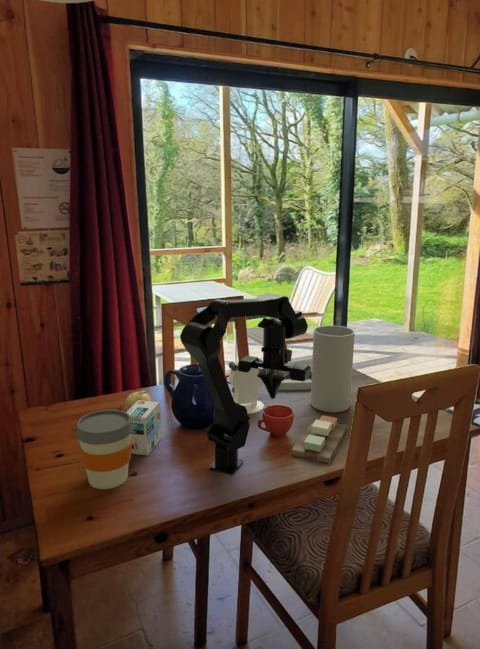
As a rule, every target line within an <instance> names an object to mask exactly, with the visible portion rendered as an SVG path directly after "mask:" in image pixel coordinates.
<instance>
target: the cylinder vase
mask: <svg viewBox="0 0 480 649" xmlns="http://www.w3.org/2000/svg"><path fill="white" fill-rule="evenodd" d="M355 332H356V331H355V330H354V329H352V328H350V327H348V326H347V327H346V326H341V325H321V326H317V327H314V329H313V336H312V337H313V339H312V362H311V363H312V366H311V370H312V383H311V390H310V404H311V406H312V407H313V408H314V409H315V410H317V411H320V412H325V413H332V414H333V413H337V414H338V413H342V412H345V411H347V410H348V409H349V408H350V407H351V396H352V379H353V365H354V351H355V350H354V349H355V336H356V335H355Z"/></svg>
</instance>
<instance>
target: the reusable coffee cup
mask: <svg viewBox="0 0 480 649" xmlns="http://www.w3.org/2000/svg"><path fill="white" fill-rule="evenodd" d="M126 412H127V411H124V410H118V409H103V410H101V409H100V410H97V411H92V412H90V413H87V414H84V415H83V416H82V417H80V418H78V420H77V423H76V438H77V440H78V441H79V442H78V443H79V445H78V450H79V455H80V459H81V463H82V465H83V468H85V471H86V476H87V479H88V483H89V485H90V486H91V487H93V488H95V489H97V490H98V489H99V490H109V489H114V488H117V487H119V486H121V485H122V484H124V483H125V482H126V481H127V480H128V477H129V475H128V474H129V463H130V460H131V457H132V453H131V449H132V438H131V432H132V429H133V428H132V423H131V417H130V415H129V414H128V413H126Z"/></svg>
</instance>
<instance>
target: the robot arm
mask: <svg viewBox="0 0 480 649" xmlns="http://www.w3.org/2000/svg"><path fill="white" fill-rule="evenodd" d="M257 316H264V317H263V318H262V319H261V321H260V322H258V324H257V327H258V328H261V329H263V330H262V331H263V332H262V333H263V340H262V341H263V342H262V345H263V346H262V347H261V348H260V349H261V350H260V351H261V353H262V361H263V362H259V359H260V358H259V357H258V356H252V355H251V356H250V355H246V356H244V357H243V358H241V359H240V360H239V361H237V363H238V371H241V372H249V371H250V370H251V368H255V369H259V374H258V375H257V377H260V378H261V380H262V381H263V383H264V385H263V386H264V387H265V388H266V391H267V392H268V394H269V397H270V399H272V400H275V399H276V397H277V394H278V392H279V390H278V389H279V386H280V384H281V382H282V381H284V380H285V379H286V378H287V377H288V376H289V374H290V378H291V379H292V380H296V381H305V380H306V379H307V378H308V377H309V376H310V375H311V370H312V367H311V366H310V365H309V364H305V363H300V362H299V363H298V362H296V363H294V365H293V366H288V365H287V364H288V363H290V362H291V363H292V356H293V350H292V349H288V344H286V340H289V339H292V338H297V337H299V336H303V335H304V334H306V332H307V331H308V327H309V324H308V322H307V320H306V318H305V317H304V316H303V312H302V311H301V310H297V309H296V310H294V308H293V306H292V304H291V302H290V299H289V297H288V296H285V295H280V294H274V293H270V292H267V293H263V294H260V295H258V296H257V297H255V298H244V299H243V298H241V299H218V298H217V299H214V300H211V301H210V302H209V303H208V305H207V306H206V307H205V308H204V309H202V310H201V311H199V312H198V313H197V314H195V315H194V316H193V317H191V319H190V320H189V321H188V323H187V324H185V326H183V329H182V330H181V333H180V334H179V335H180V336H179V337H180V342H181V344H182V345H183V347H184V349H185V350H186V352H187V353H188V354H189V355H190V356H191V358H193V359H194V361H196V363H197V365H198V368H199V370H200V372H201V374H202V377H203V380H204V382H205V385H206V387H207V390H208V393H209V395H210V398H211V400H212V403H213V405H214V412H213V414H212V415H213V416H212V417H213V423H212V424H211V425H210V427H209V429H208V431H207V432H206V438H207V440H208V441H209V442H212V443H214V461H213V462H212V463H211V464H210V465H209V469H211V470H214V471H217V472H221V473H226V474H229V475H233V474H234V473H235V472H236V471H237V470H239V467H241V465H243V463H244V460H243V459H240V458H239V450H240V449H241V448H243V447H245V445H246V443H247V439H248V435H249V430H250V426H251V425H250V420H251V418H250V416H249V414H247V409H246V407H245V406H243V405H240V404H238V403H236V402H234V396H233V394H232V390H231V388H230V386H229V383H228V380H227V377H226V375H225V372H224V369H223V366H222V363H221V361H220V351H221V348H222V347H221V340H222V338H223V337H224V336H225V335H226V333H227V328H228V325H229V324H228V323H229V321H230V320H231V319H232V318H244V317H257ZM268 317H270V318H271V319H270V318H268ZM216 318H217V319H216ZM215 319H216V323H215V324H213V326H209V325H208V324H209V323H210V322H212V321H214V320H215ZM274 373H276V375H275V376H274Z"/></svg>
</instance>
